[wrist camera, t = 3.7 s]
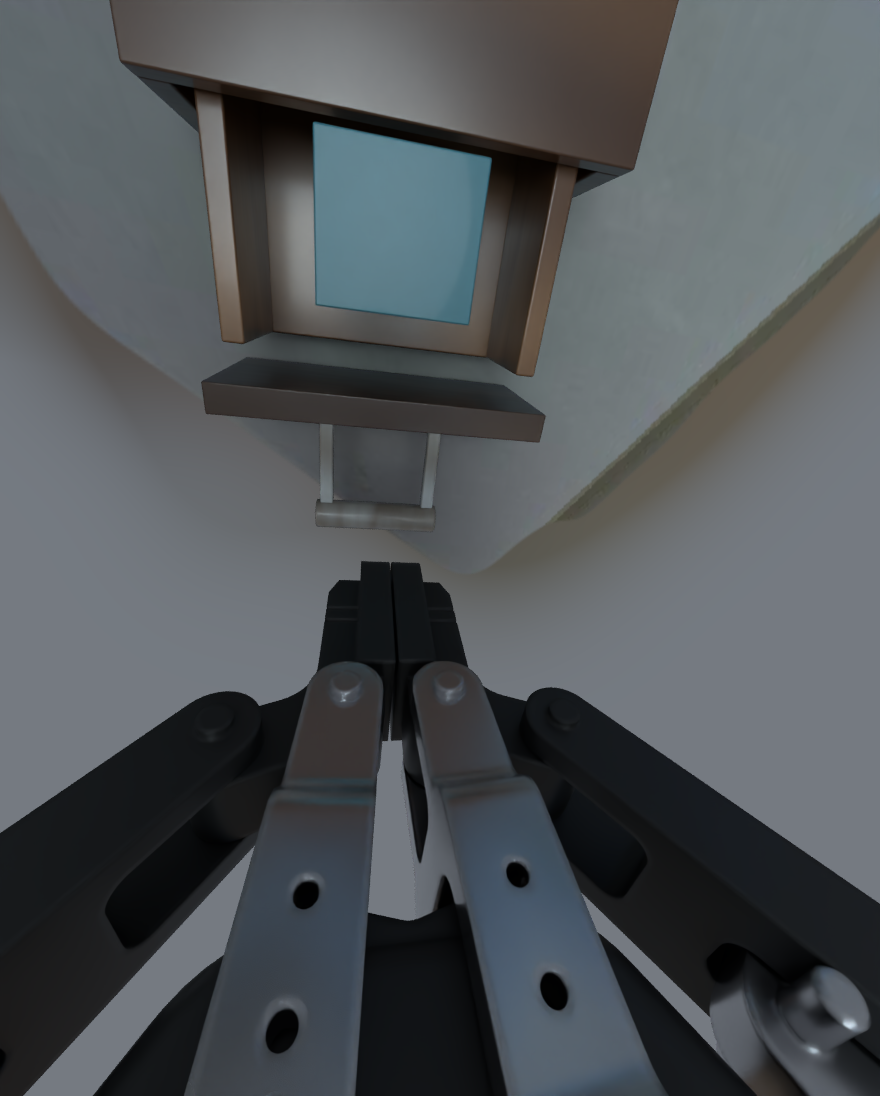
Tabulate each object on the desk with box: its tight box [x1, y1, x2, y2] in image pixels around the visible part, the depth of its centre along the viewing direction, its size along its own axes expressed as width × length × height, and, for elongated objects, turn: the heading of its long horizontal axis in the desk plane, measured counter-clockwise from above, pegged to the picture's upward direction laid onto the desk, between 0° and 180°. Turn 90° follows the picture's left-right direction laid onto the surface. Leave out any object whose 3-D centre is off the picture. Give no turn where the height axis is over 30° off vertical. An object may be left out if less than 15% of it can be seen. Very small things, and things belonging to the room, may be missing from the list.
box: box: [313, 122, 492, 325], centre depth 16 cm, size 5×4×9 cm
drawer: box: [194, 88, 579, 532], centre depth 19 cm, size 20×14×7 cm, turn 173°
